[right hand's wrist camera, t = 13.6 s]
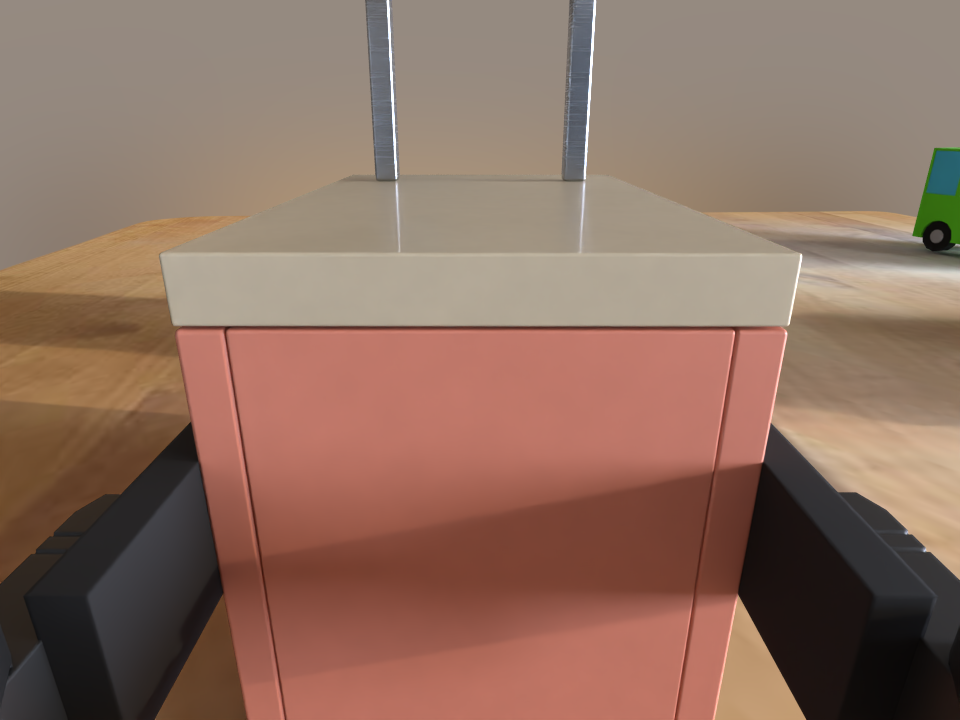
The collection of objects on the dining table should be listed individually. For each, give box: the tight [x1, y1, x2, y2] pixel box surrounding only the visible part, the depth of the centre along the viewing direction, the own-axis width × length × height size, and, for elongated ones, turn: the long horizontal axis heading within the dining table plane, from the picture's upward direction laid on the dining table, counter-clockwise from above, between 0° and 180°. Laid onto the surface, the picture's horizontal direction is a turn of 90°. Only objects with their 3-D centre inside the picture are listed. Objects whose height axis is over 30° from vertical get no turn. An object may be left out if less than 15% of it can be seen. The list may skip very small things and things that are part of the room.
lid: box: [159, 0, 802, 327], centre depth 14 cm, size 14×9×9 cm, turn 0°
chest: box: [175, 326, 787, 720], centre depth 17 cm, size 14×9×10 cm
